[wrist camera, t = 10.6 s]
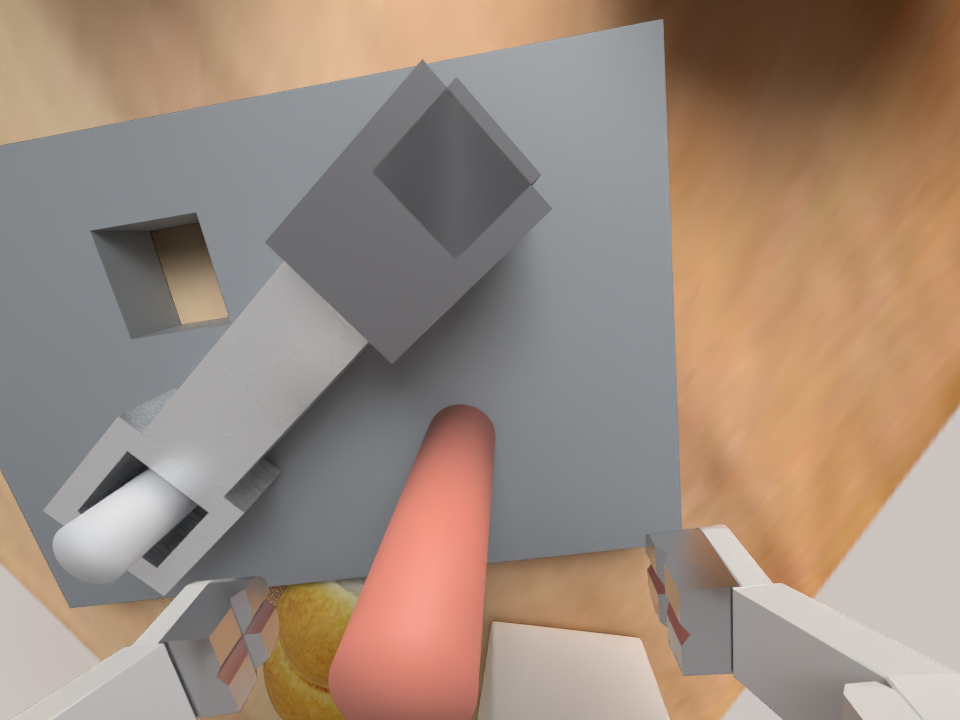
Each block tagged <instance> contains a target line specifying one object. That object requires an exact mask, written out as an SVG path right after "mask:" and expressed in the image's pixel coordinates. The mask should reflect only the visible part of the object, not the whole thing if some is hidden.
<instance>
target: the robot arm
mask: <svg viewBox="0 0 960 720" xmlns="http://www.w3.org/2000/svg"><path fill="white" fill-rule="evenodd" d="M645 548H646V553H647V555H648V557H649V559H650V562H651V565H650V566H649V568H648V569H647V575H648V584H649V589H650V594H651V599H652V602H653V605H654V608H655V611H656V613H657V616H658V618H659V621H660V622H661V623H662V624H664V625H665V626H666V627H668V641H669V644H670V647H671V649H672V651H673V654H674V656H675V658H676V661H677V663H678V665H679V668H680V670H681V672H682V675H683V676H693V675H713V674H732V673H733V676H734V677H735V678H736V679H737V680H738V681H740V682H741V683H742V684H743V685H744V686H745V687H746V688H748V689H749V690H750V691H751V692H752V693H753V694H754V695H756V696H757V697H758V698H759V699H760V700H761V701H762V702H764V703H765V704H766V705H767V706H768V707H769V708H770V709H772V710H773V711H774V712H775V713H776V714H777V715H778V716H780V717H781V718H782V719H783V720H960V675H959V674H958V673H957V672H955V671H953V670H951V669H949V668H947V667H945V666H943V665H941V664H939V663H937V662H935V661H933V660H931V659H930V658H928V657H926V656H924V655H922V654H920V653H918V652H916V651H914V650H912V649H910V648H908V647H906V646H904V645H902V644H900V643H898V642H896V641H894V640H892V639H890V638H888V637H886V636H884V635H882V634H881V633H879V632H877V631H875V630H873V629H871V628H869V627H867V626H865V625H863V624H861V623H859V622H857V621H855V620H853V619H851V618H849V617H847V616H845V615H843V614H841V613H839V612H837V611H835V610H833V609H831V608H830V607H828V606H826V605H824V604H822V603H820V602H818V601H816V600H814V599H812V598H810V597H808V596H806V595H804V594H802V593H800V592H798V591H796V590H794V589H792V588H790V587H788V586H786V585H784V584H782V583H777V584H773V583H772V582H771V580H770V579H769V578H768V577H767V575H766V574H765V573H764V572H763V570H762V569H761V568H760V567H759V566H758V564H757V563H756V562H755V561H754V559H753V558H752V557H751V556H750V554H749V553H748V552H747V551H746V549H745V548H744V547H743V546H742V545H741V543H740V542H739V541H738V540H737V538H736V537H735V536H734V535H733V533H732V532H731V531H730V530H729V528H728V527H727V526H725V525H723V524H719V525H711V526H704V527H697V528H696V529H686V530H677V531H668V532H659V533H651V534H646V537H645ZM269 591H270V590H269V587H268V585H267V582H266V580H265V578H263V577H260V576H249V577H237V578H225V579H216V580H205V581H195V582H193V583H191V584H188V585H186V586H185V588H184V589H183V590H182V591H181V592H180V593H179V594H178V595H177V596H176V597H175V599H174V600H173V601H172V602H171V603H170V604H169V605H168V606H167V607H166V609H165V610H164V611H163V612H162V613H161V614H160V615H159V616H158V617H157V618H156V620H155V621H154V622H153V623H152V624H151V625H150V626H149V627H148V628H147V630H146V631H145V632H144V633H143V634H142V635H141V636H140V637H139V638H138V639H137V641H136V642H135V643H134V644H133V645H132V646H130V647H123V648H122V649H120V650H119V651H117V652H116V653H114V654H112V655H111V656H109V657H108V658H106V659H105V660H103V661H101V662H100V663H98V664H97V665H95V666H94V667H92V668H91V669H89V670H87V671H86V672H84V673H82V674H81V675H79V676H78V677H76V678H75V679H73V680H71V681H70V682H68V683H67V684H65V685H64V686H62V687H60V688H59V689H57V690H56V691H54V692H53V693H51V694H49V695H48V696H46V697H45V698H43V699H42V700H40V701H38V702H37V703H35V704H34V705H32V706H31V707H29V708H27V709H26V710H24V711H23V712H21V713H20V714H18V715H16V716H15V717H13V718H12V719H10V720H197V719H196V718H199V717H207V716H216V715H224V714H233V713H239V712H240V710H241V708H242V707H243V705H244V703H245V701H246V699H247V698H248V696H249V694H250V692H251V690H252V688H253V687H254V685H255V683H256V681H257V679H258V678H257V671H256V669H257V668H258V667H259V666H260V665H262V664H263V663H264V662H265V661H266V660H267V659H268V658H269V657H270V655H271V653H272V651H273V649H274V648H275V646H276V642H277V638H278V633H279V617H278V614H277V611H276V608H275V607H274V606H273V605H272V604H270V603H269V602H268V601H267V600H266V598H267V596H268V594H269Z"/></svg>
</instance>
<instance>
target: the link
mask: <svg viewBox="0 0 960 720" xmlns="http://www.w3.org/2000/svg"><path fill="white" fill-rule="evenodd" d="M369 345H370V343H369V342H368V341H367V340H366V339H365V338H364V337H363V336H362V335H361V334H360V333H359V332H358V331H357V330H356V329H355V328H354V327H353V326H352V325H351V324H349V323H348V322H347V321H346V320H345V319H344V318H343V317H342V316H341V315H340V314H339V313H338V312H337V311H336V310H335V309H334V308H333V307H332V306H331V305H330V304H329V303H328V302H327V301H325V300H324V299H323V298H322V297H321V296H320V295H319V294H318V293H317V292H316V291H315V290H314V289H313V288H312V287H311V286H310V285H309V284H308V283H307V282H306V281H305V280H304V279H303V278H302V277H300V276H299V275H298V274H297V273H296V272H295V271H294V270H293V269H292V268H291V267H290V266H289V265H288V264H287V263H286V262H285V261H284V262H283V263H282V264H281V265H280V267H279V268H278V269H277V270H276V272H275V273H274V274H273V275H272V276H271V278H270V279H269V280H268V281H267V282H266V284H265V285H264V286H263V287H262V288H261V290H260V291H259V292H258V293H257V295H256V296H255V297H254V298H253V299H252V301H251V302H250V303H249V304H248V305H247V307H246V308H245V309H244V310H243V311H242V313H241V314H240V315H239V316H238V318H237V319H236V320H235V321H234V322H233V324H232V325H231V326H230V327H229V328H228V330H227V331H226V332H225V333H224V334H223V336H222V337H221V338H220V339H219V340H218V342H217V343H216V344H215V345H214V347H213V348H212V349H211V350H210V351H209V353H208V354H207V355H206V356H205V357H204V359H203V360H202V361H201V362H200V363H199V365H198V366H197V367H196V368H195V370H194V371H193V372H192V373H191V374H190V376H189V377H188V378H187V379H186V380H185V382H184V383H183V384H182V385H181V386H180V388H179V389H178V388H175V389H173V390H171V391H169V392H167V393H165V394H163V395H161V396H159V397H157V398H155V399H153V400H151V401H148V402H146V403H144V404H142V405H140V406H138V407H136V408H134V409H132V410H130V411H128V412H126V413H124V414H122V415H120V416H118V417H117V418H116V420H115V421H114V422H113V423H112V425H111V426H110V427H109V428H108V430H107V431H106V432H105V433H104V435H103V436H102V437H101V438H100V440H99V441H98V442H97V443H96V445H95V446H94V447H93V449H92V450H91V451H90V452H89V454H88V455H87V456H86V457H85V459H84V460H83V461H82V462H81V464H80V465H79V466H78V467H77V469H76V470H75V471H74V472H73V474H72V475H71V476H70V477H69V479H68V480H67V481H66V482H65V484H64V485H63V486H62V487H61V489H60V490H59V491H58V492H57V494H56V495H55V496H54V497H53V499H52V500H51V501H50V502H49V504H48V505H47V506H46V507H45V509H44V510H43V511H44V512H45V513H46V514H48V515H49V516H51V517H52V518H54V519H55V520H56V521H58V522H59V523H61V524H62V525H63V526H65V525H66V524H68V523H69V522H71V521H72V520H74V519H75V518H77V517H78V516H80V515H81V514H83V513H84V512H85V511H87V510H88V509H90V508H91V507H93V506H94V505H96V504H97V503H99V502H100V501H102V500H103V499H105V498H106V497H108V496H109V495H110V494H112V493H113V492H115V491H116V490H118V489H119V488H121V487H122V486H124V485H125V484H127V483H128V482H130V481H131V480H133V479H134V478H136V477H137V476H138V475H140V474H141V472H140V471H139V469H140V468H141V467H142V466H143V465H144V464H145V465H146V466H148V467H149V468H150V469H152V470H153V471H154V472H156V473H157V474H158V475H160V476H161V477H162V478H164V479H165V480H166V481H168V482H169V483H170V484H172V485H173V486H174V487H176V488H177V489H178V490H179V491H181V492H182V493H183V494H185V495H186V496H187V497H189V498H190V499H191V500H193V501H194V502H195V503H197V504H198V505H199V506H201V507H202V508H203V509H205V510H206V511H207V512H209V513H208V514H207V515H206V516H205V517H204V518H203V519H202V518H201V517H200V516H198V515H197V514H196V513H194V512H193V511H191V512H190V513H189V514H188V515H187V516H186V517H185V518H183V519H182V520H181V521H180V522H179V523H178V524H177V525H176V526H175V527H174V528H173V529H171V530H170V531H169V532H168V533H167V534H166V535H165V536H164V537H163V538H162V539H160V540H159V541H158V542H157V543H156V544H155V545H154V546H153V547H152V548H151V549H150V550H148V551H147V552H146V553H145V554H144V555H143V556H142V557H141V558H140V559H139V560H138V561H136V562H135V563H134V564H133V565H132V566H131V567H130V568H129V569H128V571H129V572H130V573H132V574H133V575H135V576H136V577H137V578H139V579H140V580H142V581H143V582H145V583H146V584H147V585H149V586H150V587H152V588H153V589H155V590H156V591H157V592H159V593H160V594H162V595H163V596H165V595H166V594H167V593H168V592H169V591H170V590H171V589H172V587H173V586H174V585H175V584H176V583H177V582H178V581H179V580H180V579H181V578H182V577H183V576H184V575H185V574H186V573H187V572H188V571H189V570H190V569H191V568H192V567H193V566H194V565H195V564H196V563H197V562H198V561H199V559H200V558H201V557H202V556H203V555H204V554H205V553H206V552H207V551H208V550H209V549H210V548H211V547H212V546H213V545H214V544H215V543H216V542H217V541H218V540H219V539H220V538H221V537H222V536H223V535H224V534H225V533H226V531H227V530H228V529H229V528H230V527H231V526H232V525H233V524H234V523H235V522H236V521H237V520H238V519H239V518H240V517H241V516H242V515H243V514H244V513H245V512H246V511H247V509H248V508H249V507H250V506H251V505H252V504H253V503H254V502H255V501H256V499H257V498H258V497H259V496H260V495H261V494H262V493H263V492H264V490H265V489H266V488H267V487H268V486H269V485H270V484H271V483H272V482H273V480H274V479H275V478H276V477H277V476H278V475H279V474H280V473H281V471H280V470H279V469H278V468H276V467H275V466H274V465H273V464H271V463H270V462H269V461H268V460H266V459H265V458H264V457H265V456H266V455H267V454H268V453H269V452H270V451H271V450H272V449H273V447H274V446H275V445H276V444H277V443H278V442H279V441H280V440H281V439H282V438H283V437H284V436H285V435H286V434H287V433H288V431H289V430H290V429H291V428H292V427H293V426H294V425H295V424H296V423H297V422H298V421H299V420H300V419H301V418H302V417H303V415H304V414H305V413H306V412H307V411H308V410H309V409H310V408H311V407H312V406H313V405H314V404H315V403H316V402H317V401H318V399H319V398H320V397H321V396H322V395H323V394H324V393H325V392H326V391H327V390H328V389H329V388H330V387H331V386H332V385H333V383H334V382H335V381H336V380H337V379H338V378H339V377H340V376H341V375H342V374H343V373H344V372H345V371H346V370H347V369H348V367H349V366H350V365H351V364H352V363H353V362H354V361H355V360H356V359H357V358H358V357H359V356H360V355H361V354H362V353H363V351H364V350H365V349H366V348H367V347H368V346H369Z"/></svg>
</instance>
